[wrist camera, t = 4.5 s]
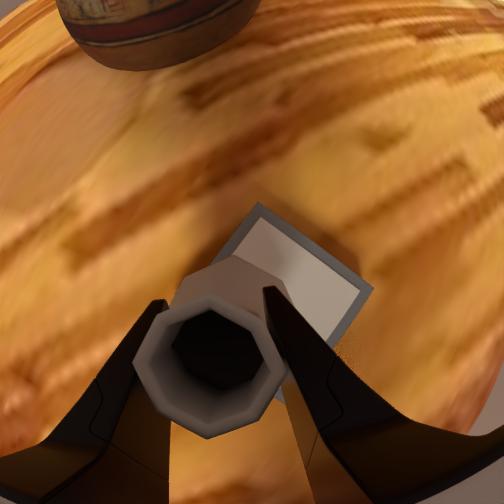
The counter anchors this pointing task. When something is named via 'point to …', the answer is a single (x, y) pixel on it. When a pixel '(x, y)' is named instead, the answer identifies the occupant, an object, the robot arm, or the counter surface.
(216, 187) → the counter surface
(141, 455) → the robot arm
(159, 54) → the ceramic pitcher
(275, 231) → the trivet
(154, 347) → the flask
